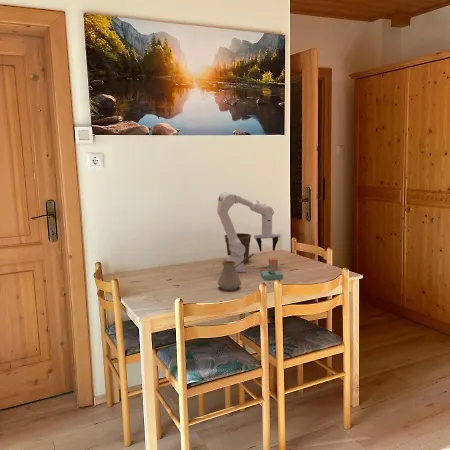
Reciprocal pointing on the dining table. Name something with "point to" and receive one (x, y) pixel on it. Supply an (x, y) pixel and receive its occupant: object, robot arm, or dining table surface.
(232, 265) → the coffee pot
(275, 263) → the square peg
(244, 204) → the robot arm
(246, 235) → the plant pot
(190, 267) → the dining table surface
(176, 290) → the dining table surface
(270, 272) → the steel bar
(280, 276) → the slot block
